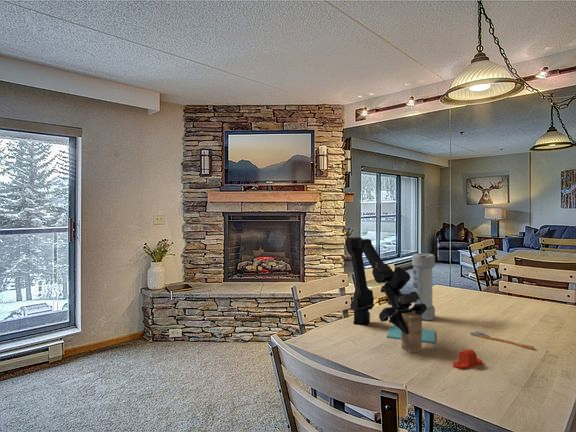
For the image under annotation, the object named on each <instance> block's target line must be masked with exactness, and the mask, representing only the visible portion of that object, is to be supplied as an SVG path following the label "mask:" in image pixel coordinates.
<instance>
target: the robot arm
mask: <svg viewBox="0 0 576 432" xmlns="http://www.w3.org/2000/svg"><path fill="white" fill-rule="evenodd" d="M344 243H345V248H346V252H347V253H348V255H350V257H351V261H352V267H353V268H352V269H353V275H354V282H355V283H354V284H355V290H354V293H353V299H352V301H351V303H349V306H350V309H351V310H352V311H353V322H352V324H354V325H363V326H368V325H369V324H370V323H371V312H370V310H373V306H374V302H375V297H374V292H373V290H372V289H370V288H369V287H368V283H367V278H366V272H365V264H364V258H363V254H364V256H365V257H366V259H367V261H368V263H369V264H370V266H371V268H372V276H373V278H374V280H375V282H376V283H377V284H383V285H381V288H380V293H384V294H385V295H386V298H387V300H388V301H387V304H388V305H389V306H388V307H384V308H383V309H382V310H381V311H380V313H379V314H378V318H379V320H380V322H388V323H390V324H392V325H393V326H397V327H398V328H399V329H400V330H402V331H403V332H404V333H405V334H406V335H407V334H409V333H408V330H407V328H406V326H405V324H404V322H403V320H402V313H409V312H414V313H416V314H419V315H422V314H423V313H424V312H425V311H426V310H427V307H426V305H425V304H423V303H420V304H415V305H414V302H417V300H419V296H418V294H417V292H416V291H415V292H413V291H411V292H410V293H402V292H401V290H403V288H404V287H405V286H406V285H407V284H408V282H409V281H410V280H411V275H410V273H409V272H407V271H406V270H404V269H402V267H401V266H400V267H399V266H398V267H397V266H396V267H395V268H394V270H393V269H392V268H391V266H390V265H388V264H387V263H385V262H383V260H382V258H381V257H380V255H379V254H378V252H377V250H376V249H375V247H374V246H373V244H372V243H373V242H372V240H371V239H369V238H362V236H356V237H354V236H353V237H352V236H351V237H349V236H348V238H347V239H346V240H345V242H344ZM413 305H414V306H413ZM390 306H391V307H390ZM412 306H413V307H412Z"/></svg>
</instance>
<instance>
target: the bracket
mask: <svg viewBox="0 0 576 432" xmlns="http://www.w3.org/2000/svg"><path fill="white" fill-rule="evenodd" d="M482 365H483V360H482V359H481V358H478V356H477V353H476V352H475V350H474V349H472V348H470V349H466V350H461V351H459V352H458V360H456V361H453V362H452V367H453V368H454V369H456V368H457V370H461V371H462V369H463V370H468V369H470V368H474V367H478V366H482Z"/></svg>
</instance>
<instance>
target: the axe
mask: <svg viewBox="0 0 576 432" xmlns="http://www.w3.org/2000/svg"><path fill="white" fill-rule="evenodd" d="M469 335H470V336H473V337H478V338H481V339H486V340H490V341H491V340H492V341H494V342H495V341H497V342H500V343H501V342H502V343H506V344H510V345H514V346H517V347H520V348H523V349H527V350H531V351H535V349H536V348H535V346H534V345H527V344H522V343H519V342H515V341H511V340H506V339H502V338H497V337H496V338H495V337H491V336H490V335H489V334H488V333H485V332H483V331H477V330H476V331H474V332H473V331H471V332H470V333H469Z"/></svg>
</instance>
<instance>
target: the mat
mask: <svg viewBox="0 0 576 432" xmlns="http://www.w3.org/2000/svg"><path fill="white" fill-rule="evenodd" d="M435 334H436V330H434V329H426V328H422V343H427V344H436V335H435ZM386 338H388V339H389V338H390V339H397V340H401V330H400V329H399V328H398V327H397V326H395V325H393V324H392V325H389V329H388V331H387V334H386Z"/></svg>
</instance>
